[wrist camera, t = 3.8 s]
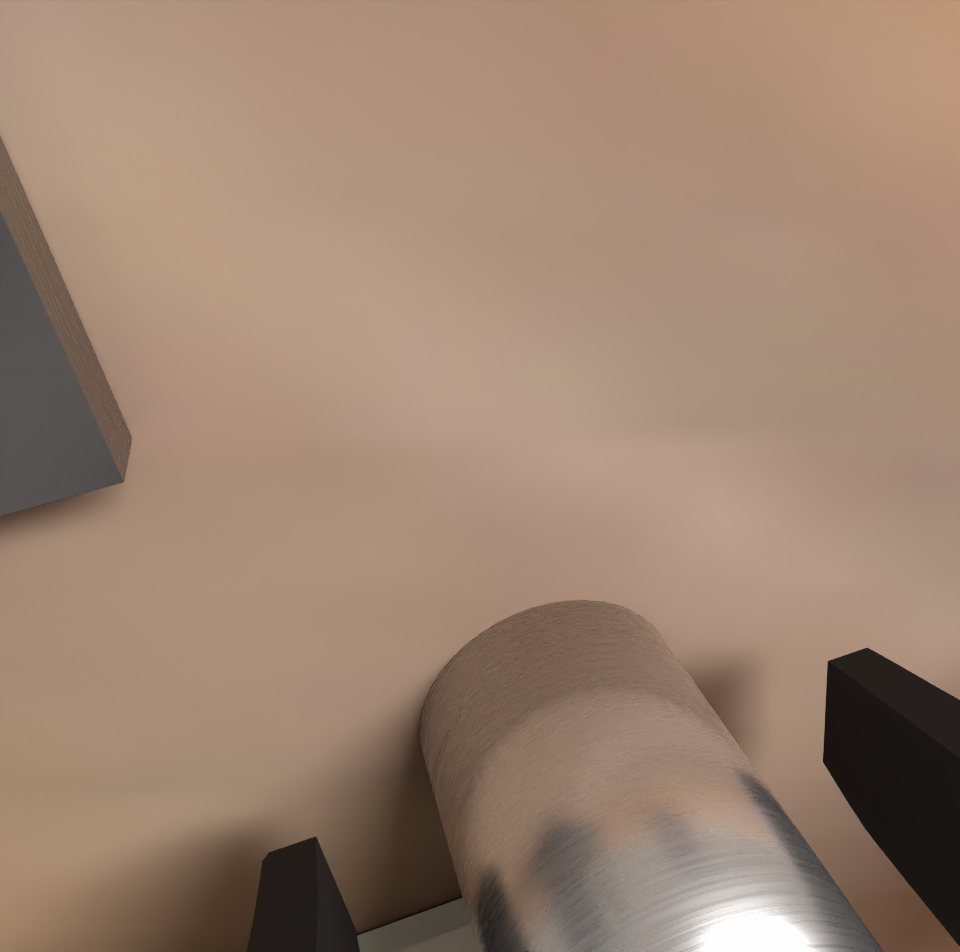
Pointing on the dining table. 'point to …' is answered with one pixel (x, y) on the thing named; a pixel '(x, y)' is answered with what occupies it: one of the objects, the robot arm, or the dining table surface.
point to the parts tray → (424, 932)
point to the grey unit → (47, 373)
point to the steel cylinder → (612, 801)
